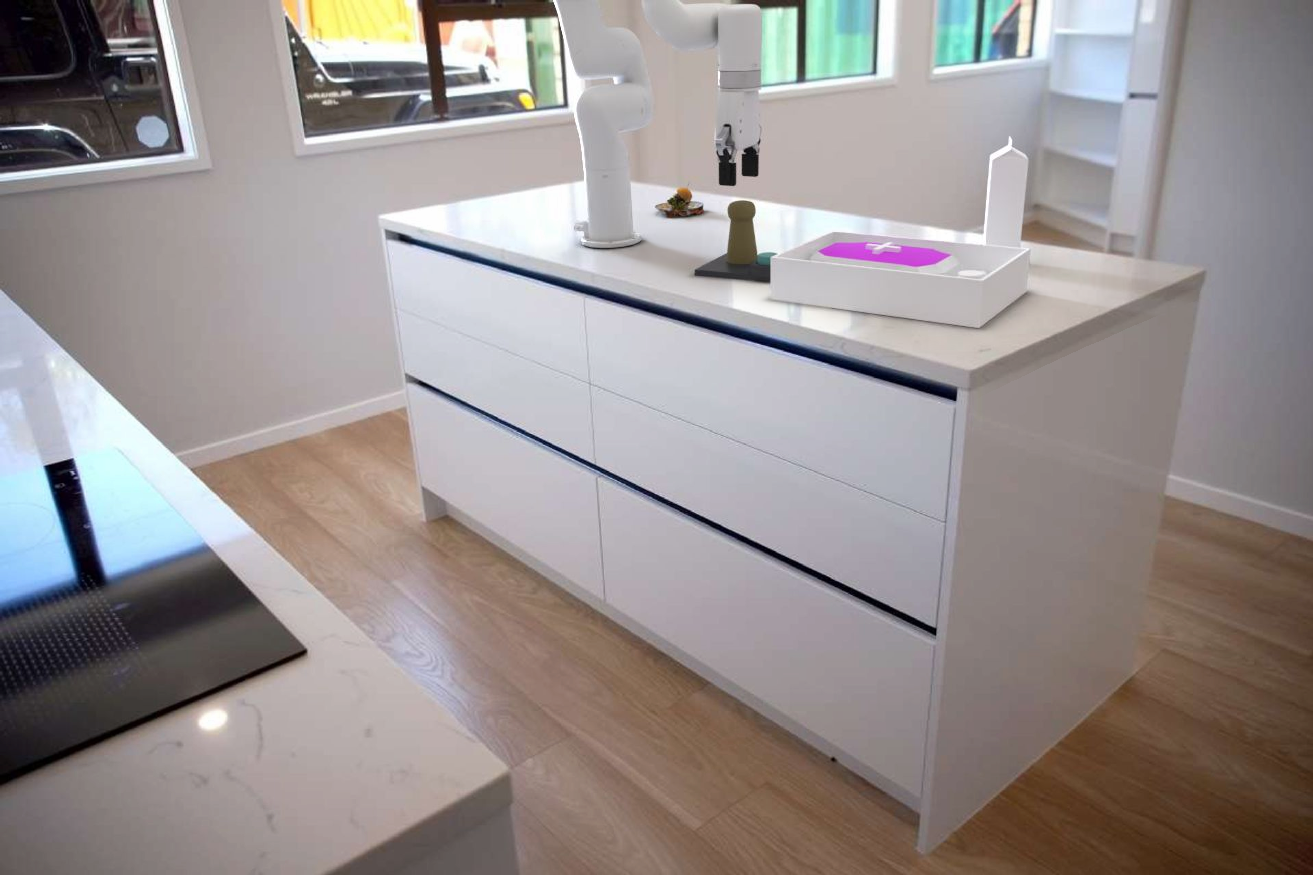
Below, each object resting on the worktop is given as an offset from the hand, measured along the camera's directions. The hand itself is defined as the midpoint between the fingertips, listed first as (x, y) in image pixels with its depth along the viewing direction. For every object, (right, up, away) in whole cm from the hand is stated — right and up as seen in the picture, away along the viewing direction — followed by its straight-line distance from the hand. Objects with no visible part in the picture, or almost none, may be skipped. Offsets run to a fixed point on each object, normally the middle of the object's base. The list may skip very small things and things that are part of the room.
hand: (738, 180), depth 181 cm
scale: (+2, -16, +3) cm, 16 cm away
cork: (+1, -14, +5) cm, 15 cm away
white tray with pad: (+25, -24, -17) cm, 38 cm away
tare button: (+5, -16, -4) cm, 17 cm away
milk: (+47, -16, -1) cm, 49 cm away
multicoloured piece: (-9, +7, +58) cm, 59 cm away
